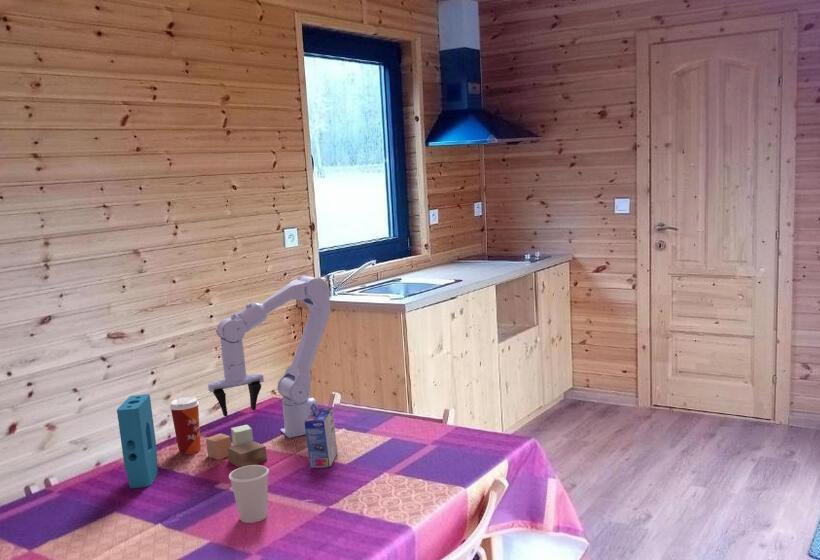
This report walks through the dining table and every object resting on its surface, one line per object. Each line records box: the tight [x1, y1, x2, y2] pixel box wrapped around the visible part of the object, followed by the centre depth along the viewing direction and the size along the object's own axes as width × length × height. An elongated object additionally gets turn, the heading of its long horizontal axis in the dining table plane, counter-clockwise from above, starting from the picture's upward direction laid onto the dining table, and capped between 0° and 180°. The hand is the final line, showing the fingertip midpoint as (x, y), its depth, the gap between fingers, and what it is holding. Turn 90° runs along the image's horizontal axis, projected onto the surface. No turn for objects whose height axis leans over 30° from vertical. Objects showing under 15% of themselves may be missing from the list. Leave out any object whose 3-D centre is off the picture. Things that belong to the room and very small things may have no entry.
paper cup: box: [169, 396, 201, 455], centre depth 207 cm, size 8×8×14 cm
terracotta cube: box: [205, 433, 232, 461], centre depth 202 cm, size 4×4×5 cm
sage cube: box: [230, 424, 254, 446], centre depth 208 cm, size 4×4×5 cm
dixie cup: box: [228, 464, 270, 524], centre depth 163 cm, size 8×8×10 cm
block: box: [116, 393, 159, 489], centre depth 188 cm, size 12×5×20 cm, turn 4°
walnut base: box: [228, 439, 268, 468], centre depth 196 cm, size 7×7×4 cm
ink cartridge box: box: [304, 403, 338, 469], centre depth 192 cm, size 10×6×14 cm, turn 174°
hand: (239, 412), depth 207 cm, fingers open, 7 cm apart
